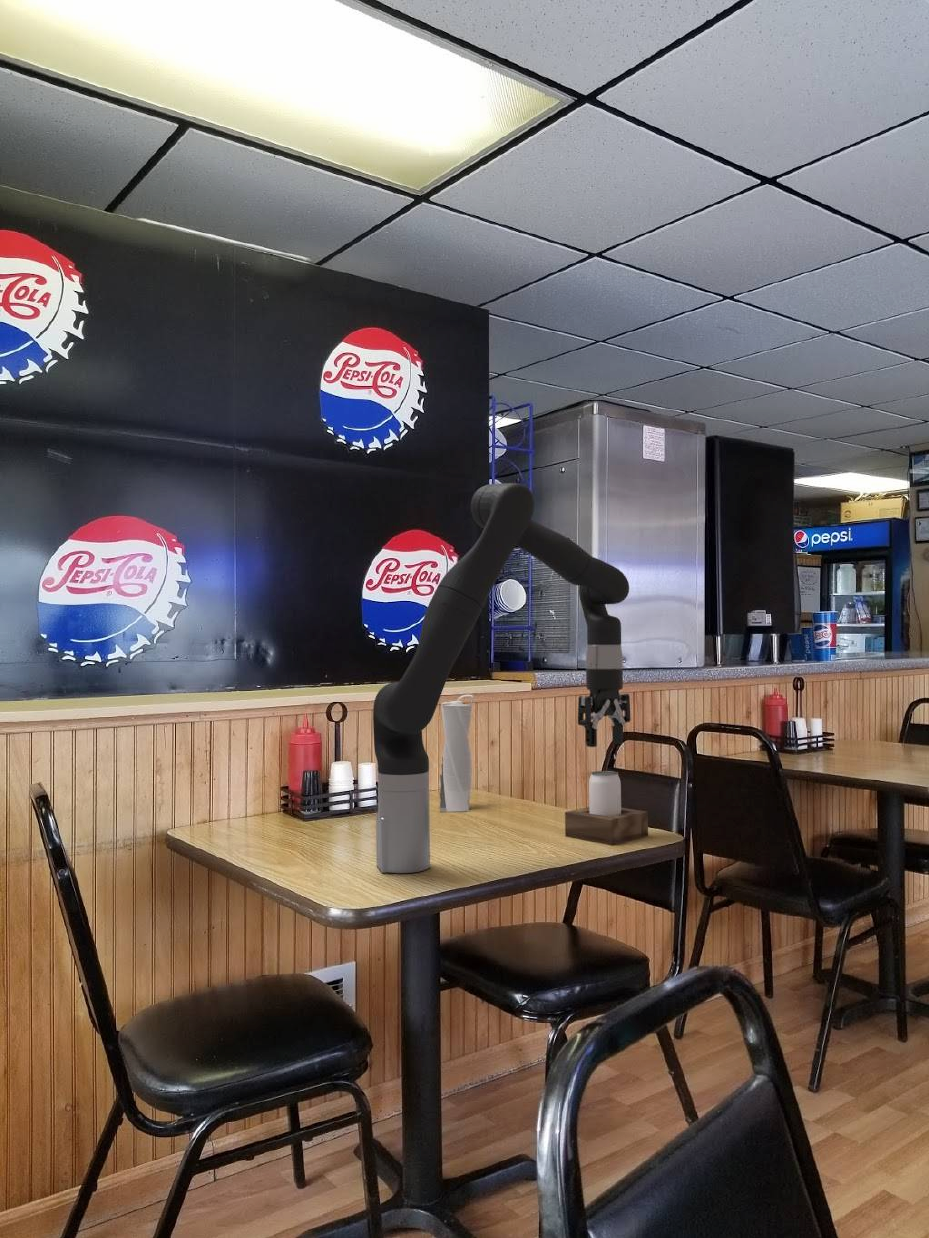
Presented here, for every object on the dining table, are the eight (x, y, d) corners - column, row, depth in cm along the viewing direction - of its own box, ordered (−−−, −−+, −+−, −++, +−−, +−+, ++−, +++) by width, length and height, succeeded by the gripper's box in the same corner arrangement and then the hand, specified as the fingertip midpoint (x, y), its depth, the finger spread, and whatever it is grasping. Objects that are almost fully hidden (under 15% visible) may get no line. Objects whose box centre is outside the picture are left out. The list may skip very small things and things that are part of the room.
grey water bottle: (473, 807, 228) (472, 693, 229) (475, 813, 220) (474, 695, 221) (439, 808, 228) (438, 694, 229) (440, 814, 220) (438, 695, 220)
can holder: (611, 845, 183) (610, 819, 183) (565, 836, 192) (565, 811, 192) (648, 835, 191) (647, 811, 192) (602, 827, 200) (602, 804, 200)
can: (621, 834, 188) (620, 775, 188) (589, 834, 189) (587, 774, 190) (621, 828, 194) (620, 770, 195) (590, 827, 196) (589, 770, 196)
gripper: (596, 667, 185) (596, 749, 185) (640, 666, 195) (640, 744, 194) (567, 667, 191) (568, 746, 190) (611, 665, 200) (612, 741, 200)
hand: (604, 745), depth 192 cm, fingers open, 8 cm apart
